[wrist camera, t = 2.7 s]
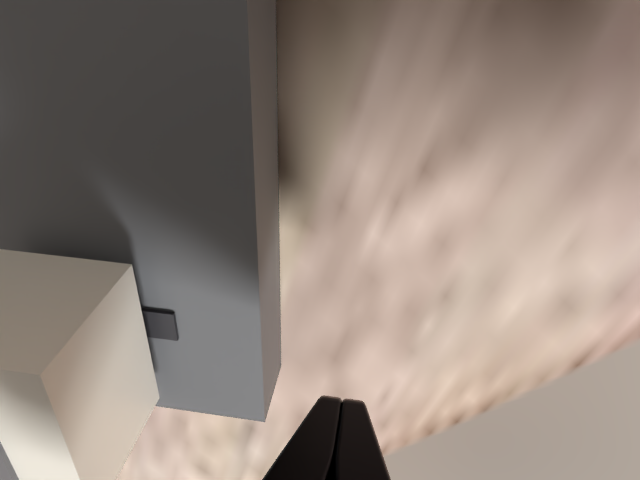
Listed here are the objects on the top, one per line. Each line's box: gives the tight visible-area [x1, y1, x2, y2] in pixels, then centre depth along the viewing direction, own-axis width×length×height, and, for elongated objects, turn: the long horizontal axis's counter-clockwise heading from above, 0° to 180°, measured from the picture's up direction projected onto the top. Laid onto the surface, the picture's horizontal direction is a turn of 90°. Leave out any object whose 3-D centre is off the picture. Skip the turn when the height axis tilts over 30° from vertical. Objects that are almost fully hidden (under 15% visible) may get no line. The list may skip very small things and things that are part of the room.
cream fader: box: [0, 249, 160, 480], centre depth 10 cm, size 3×4×3 cm
